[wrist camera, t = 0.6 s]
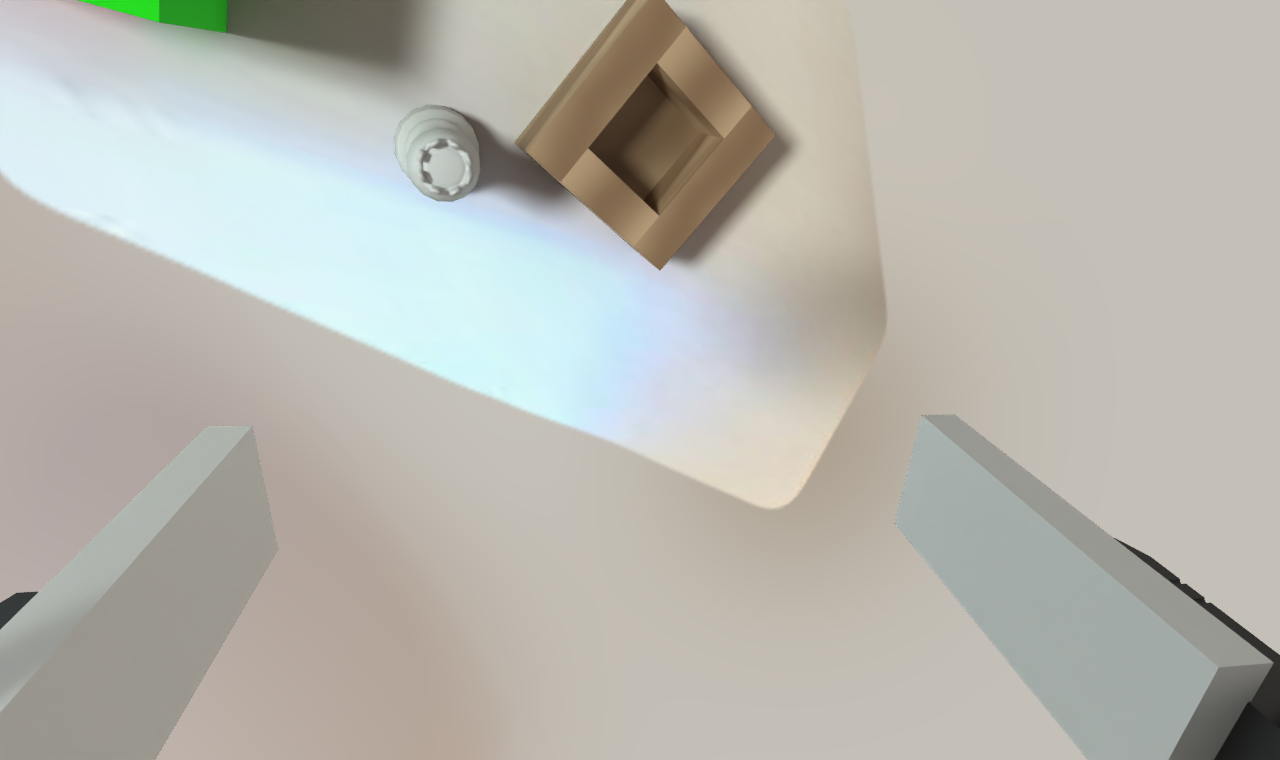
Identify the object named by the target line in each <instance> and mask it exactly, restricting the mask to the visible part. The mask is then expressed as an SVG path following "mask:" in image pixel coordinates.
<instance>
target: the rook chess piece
mask: <svg viewBox="0 0 1280 760" xmlns="http://www.w3.org/2000/svg"><path fill="white" fill-rule="evenodd" d="M394 144H395V155H396V158H397V160H398V162H399V164H400V166H401V168H402V171H403V172H404V173H405V174H406V175H407V176H408V177H409V178H410V179H411V180H412V183H413V185H414V186H415V187H416V188H417V189H419V190H420V191H421V192H422V193H423V194H424V195H425V196H427V197H430V198H432V199H434V200H436V201H449V202H452V201H455V200H458V199H461V198H463V197H465V196H466V195H467V194H468V193H469V192H471V191H472V190H473V189H474V188H475V186H476V183H477V181H478V178H479V176H480V159H479V143H478V140H477V138H476V135H475V132H474V130H473V127H472V126H471V125H470V124H469V123H468V122H467V121H466V120H465V119H464V117H463V116H462V115H461V114H459V113H457V112H455V111H453V110H451V109H449V108H447V107H446V106H437V105H425V106H422V107H419V108H416V109H413V110H411V111H410V112H409V113H408V114H407V115H406V116H405V117H404V118H403V119H402V120H401V121H400V123H399V126H398V128H397V131H396V134H395V136H394Z"/></svg>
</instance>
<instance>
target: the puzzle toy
mask: <svg viewBox="0 0 1280 760" xmlns="http://www.w3.org/2000/svg"><path fill="white" fill-rule="evenodd" d="M79 1H83V2H86V3H90V4H94V5H97V6H101V7H105V8H108V9H112V10H116V11H119V12H123V13H127V14H131V15H134V16H138V17H142V18H145V19H149V20H153V21H156V22H161V23H167V24H174V25H180V26H186V27H193V28H199V29H206V30H212V31H218V32H225V33H227V4H228V0H79Z"/></svg>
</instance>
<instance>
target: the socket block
mask: <svg viewBox="0 0 1280 760" xmlns="http://www.w3.org/2000/svg"><path fill="white" fill-rule="evenodd" d="M774 137H775V134H774V132H773V131H772V130H771V129H770V127H769V126H768V125H767V124H766V123H765V121H764V120H763V119H762V118H761V117H760V115H759V114H758V113H757V112H756V111H755V109H754V108H753V107H752V106H751V104H750V103H749V102H748V101H747V100H746V98H745V97H744V96H743V95H742V94H741V92H740V91H739V90H738V89H737V88H736V86H735V85H734V84H733V83H732V81H731V80H730V79H729V78H728V77H727V75H726V74H725V73H724V72H723V71H722V69H721V68H720V67H719V66H718V65H717V63H716V62H715V61H714V60H713V59H712V57H711V56H710V55H709V54H708V52H707V51H706V50H705V49H704V48H703V46H702V45H701V44H700V43H699V42H698V40H697V39H696V38H695V37H694V36H693V34H692V33H691V32H690V31H689V29H688V28H687V27H686V26H685V25H684V23H683V22H682V21H681V20H680V19H679V17H678V16H677V15H676V14H675V13H674V11H673V10H672V9H671V8H670V7H669V5H668V4H667V3H666V2H665V0H627V1H626V2H625V3H624V5H623V6H622V7H621V8H620V10H619V11H618V12H617V14H616V15H615V16H614V17H613V19H612V20H611V21H610V22H609V24H608V25H607V26H606V27H605V29H604V30H603V31H602V33H601V34H600V35H599V36H598V38H597V39H596V40H595V41H594V43H593V44H592V45H591V46H590V48H589V49H588V50H587V52H586V53H585V54H584V55H583V57H582V58H581V59H580V60H579V62H578V63H577V64H576V65H575V67H574V68H573V69H572V71H571V72H570V73H569V74H568V76H567V77H566V78H565V79H564V81H563V82H562V83H561V84H560V86H559V87H558V88H557V90H556V91H555V92H554V93H553V95H552V96H551V97H550V98H549V100H548V101H547V102H546V103H545V105H544V106H543V107H542V109H541V110H540V111H539V112H538V114H537V115H536V116H535V117H534V119H533V120H532V121H531V122H530V124H529V125H528V126H527V128H526V129H525V130H524V131H523V133H522V134H521V135H520V136H519V138H518V139H517V140H516V141H515V144H516V145H517V146H518V147H520V148H521V149H522V150H523V151H524V152H525V153H526V154H527V155H529V156H530V157H531V158H532V159H533V160H534V161H535V162H536V163H538V164H539V165H540V166H541V167H542V168H543V169H544V170H545V171H547V172H548V173H549V174H550V175H551V176H552V177H553V178H555V179H556V180H557V181H558V182H559V183H560V184H561V185H562V186H564V187H565V188H566V189H567V190H568V191H569V192H570V193H571V194H573V195H574V196H575V197H576V198H577V199H578V200H579V201H580V202H582V203H583V204H584V205H585V206H586V207H587V208H588V209H589V210H591V211H592V212H593V213H594V214H595V215H596V216H597V217H598V218H600V219H601V220H602V221H603V222H604V223H605V224H606V225H607V226H609V227H610V228H611V229H612V230H613V231H614V232H615V233H616V234H618V235H619V236H620V237H621V238H622V239H623V240H624V241H625V242H627V243H628V244H629V245H630V246H631V247H632V248H633V249H634V250H636V251H637V252H638V253H639V254H640V255H642V256H643V257H644V258H645V259H646V260H648V261H649V262H650V263H651V264H653V265H654V266H655V267H656V268H657V269H659V270H661V269H662V268H663V266H664V265H665V264H666V263H667V262H668V261H669V259H670V258H671V257H672V256H673V255H674V254H675V252H676V251H677V250H678V249H679V248H680V247H681V245H682V244H683V243H684V242H685V241H686V240H687V238H688V237H689V236H690V235H691V234H692V233H693V231H694V230H695V229H696V228H697V227H698V225H699V224H700V223H701V222H702V221H703V220H704V218H705V217H706V216H707V215H708V214H709V213H710V211H711V210H712V209H713V208H714V207H715V206H716V204H717V203H718V202H719V201H720V200H721V199H722V197H723V196H724V195H725V194H726V193H727V192H728V190H729V189H730V188H731V187H732V186H733V185H734V183H735V182H736V181H737V180H738V179H739V177H740V176H741V175H742V174H743V173H744V172H745V170H746V169H747V168H748V167H749V166H750V165H751V163H752V162H753V161H754V160H755V159H756V158H757V156H758V155H759V154H760V153H761V152H762V151H763V149H764V148H765V147H766V146H767V145H768V144H769V142H770V141H771V140H772V139H773V138H774Z"/></svg>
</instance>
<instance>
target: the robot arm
mask: <svg viewBox="0 0 1280 760" xmlns="http://www.w3.org/2000/svg"><path fill="white" fill-rule="evenodd" d="M895 525H896V526H897V527H898V528H899V529H900V531H901V532H902V533H903V534H904V536H905V537H906V538H907V539H908V540H909V542H910V543H911V544H912V545H913V547H914V548H915V549H916V550H917V551H918V553H919V554H920V555H921V556H922V558H923V559H924V560H925V561H926V562H927V564H928V565H929V566H930V567H931V569H932V570H933V571H934V572H935V574H936V575H937V576H938V577H939V578H940V579H941V581H942V582H943V583H944V585H945V586H946V587H947V588H948V589H949V591H950V592H951V593H952V594H953V596H954V597H955V598H956V599H957V601H958V602H959V603H960V604H961V605H962V606H963V608H964V609H965V610H966V612H967V613H968V614H969V615H970V616H971V618H972V619H973V620H974V621H975V622H976V624H977V625H978V626H979V627H980V629H982V631H983V632H984V633H985V635H986V636H987V637H988V638H989V640H990V641H991V642H992V643H993V645H994V646H995V647H996V648H997V649H998V651H999V652H1000V653H1001V654H1002V655H1003V657H1004V658H1005V659H1006V660H1007V662H1008V663H1009V664H1010V665H1011V666H1012V668H1013V669H1014V670H1015V671H1016V673H1017V674H1018V675H1019V676H1020V677H1021V679H1022V680H1023V681H1024V682H1025V684H1026V685H1027V686H1028V687H1029V688H1030V690H1031V691H1032V692H1033V693H1034V695H1035V696H1036V697H1037V698H1038V700H1039V701H1040V702H1041V703H1042V704H1043V705H1044V707H1045V708H1046V709H1047V710H1048V712H1049V713H1050V714H1051V715H1052V717H1053V718H1054V719H1055V720H1056V722H1057V723H1058V724H1059V725H1060V726H1061V728H1062V729H1063V730H1064V731H1065V733H1066V734H1067V735H1068V736H1069V737H1070V739H1071V740H1072V741H1073V742H1074V743H1075V745H1076V746H1077V747H1078V748H1079V750H1080V751H1081V752H1082V753H1083V754H1084V756H1085V757H1086V758H1087V759H1088V760H1280V655H1279V654H1278V653H1276V652H1275V651H1274V650H1272V649H1271V648H1270V647H1268V646H1267V645H1265V644H1264V643H1263V642H1262V641H1260V640H1259V639H1258V638H1257V637H1255V636H1254V635H1253V634H1251V633H1250V632H1249V631H1247V630H1246V629H1245V628H1243V627H1242V626H1241V625H1239V624H1238V623H1237V622H1235V621H1234V620H1233V619H1231V618H1230V617H1229V616H1227V615H1226V614H1225V613H1224V612H1222V611H1221V610H1220V609H1218V608H1217V607H1216V606H1214V605H1213V604H1212V603H1206V602H1205V600H1204V597H1203V596H1201V595H1200V594H1199V593H1197V592H1196V591H1195V590H1193V589H1192V588H1191V587H1189V586H1188V585H1187V584H1181V583H1180V579H1179V578H1178V577H1176V576H1175V575H1174V574H1172V573H1171V572H1170V571H1169V570H1167V569H1166V568H1165V567H1163V566H1162V565H1161V564H1159V563H1158V562H1157V561H1155V560H1154V559H1153V558H1151V557H1150V556H1148V555H1146V554H1144V553H1142V552H1140V551H1139V550H1136V549H1135V548H1133V547H1131V546H1129V545H1127V544H1125V543H1123V542H1121V541H1119V540H1117V539H1116V538H1113V537H1111V536H1110V535H1109V534H1108V533H1106V532H1105V531H1104V530H1103V529H1101V528H1100V527H1099V526H1097V525H1096V524H1095V523H1094V522H1092V521H1091V520H1090V519H1088V518H1087V517H1086V516H1084V515H1083V514H1082V513H1081V512H1079V511H1078V510H1077V509H1076V508H1074V507H1073V506H1072V505H1070V504H1069V503H1068V502H1067V501H1065V500H1064V499H1062V498H1061V497H1060V496H1059V495H1058V494H1056V493H1055V492H1054V491H1052V490H1051V489H1050V488H1049V487H1047V486H1046V485H1045V484H1043V483H1042V482H1041V481H1040V480H1038V479H1037V478H1036V477H1034V476H1033V475H1032V474H1030V473H1029V472H1028V471H1026V470H1025V469H1024V468H1023V467H1022V466H1020V465H1019V464H1018V463H1016V462H1015V461H1014V460H1013V459H1011V458H1010V457H1009V456H1007V455H1006V454H1005V453H1004V452H1002V451H1001V450H1000V449H998V448H997V447H996V446H995V445H993V444H992V443H990V442H989V441H988V440H987V439H985V438H984V437H983V436H982V435H980V434H979V433H978V432H976V431H975V430H974V429H973V428H971V427H970V426H969V425H967V424H966V423H965V422H964V421H962V420H961V419H960V418H958V417H957V416H956V415H921V419H920V423H919V427H918V431H917V435H916V439H915V443H914V447H913V451H912V455H911V459H910V463H909V467H908V471H907V475H906V479H905V483H904V487H903V491H902V495H901V499H900V503H899V507H898V511H897V515H896V519H895ZM277 550H278V546H277V541H276V536H275V532H274V527H273V522H272V517H271V512H270V507H269V503H268V498H267V493H266V488H265V484H264V479H263V475H262V470H261V465H260V460H259V455H258V451H257V446H256V441H255V436H254V431H253V426H216V427H215V426H213V427H206V428H205V429H204V430H203V431H202V432H201V433H200V434H199V435H198V436H197V437H196V438H195V439H194V440H193V441H192V442H190V443H189V444H188V445H187V446H186V447H185V448H184V449H183V450H182V451H181V452H180V453H179V454H178V456H176V457H175V458H174V459H173V460H172V461H171V462H170V463H169V464H168V465H167V466H166V467H165V468H164V469H163V470H162V471H161V472H160V473H159V474H158V475H157V476H156V477H155V478H154V479H153V480H152V481H151V482H150V483H149V484H148V485H147V486H146V487H145V488H144V489H143V490H142V491H141V492H140V493H139V494H138V495H137V496H136V497H135V498H134V499H133V500H132V501H131V502H130V503H129V504H128V505H126V507H124V509H122V510H121V511H120V512H119V513H118V514H117V515H116V516H115V517H114V518H113V519H112V520H111V521H110V522H109V523H108V524H107V525H106V526H105V527H104V528H103V529H102V530H101V531H100V532H99V533H98V534H97V535H96V536H95V537H94V538H93V539H92V540H91V541H90V542H89V543H88V544H87V545H86V546H85V547H84V548H83V549H82V550H81V551H80V552H79V553H78V554H77V555H76V556H75V557H74V558H73V559H72V560H71V561H70V562H69V563H68V564H67V565H66V566H65V567H64V568H62V569H61V571H59V573H57V574H56V576H54V577H53V578H52V580H50V581H49V582H48V583H47V584H46V585H45V586H44V587H43V588H42V589H41V590H40V591H39V592H24V593H16V594H14V595H13V596H11V597H9V598H8V599H6V600H4V601H3V602H1V603H0V760H155V759H156V757H157V756H158V754H159V752H160V751H161V749H162V747H163V745H164V743H165V742H166V740H167V739H168V737H169V735H170V733H171V732H172V730H173V728H174V726H175V725H176V723H177V721H178V720H179V718H180V716H181V715H182V713H183V711H184V709H185V708H186V706H187V704H188V703H189V701H190V699H191V698H192V696H193V694H194V692H195V691H196V689H197V687H198V686H199V684H200V682H201V680H202V679H203V677H204V675H205V674H206V672H207V670H208V668H209V666H210V665H211V663H212V662H213V660H214V658H215V656H216V655H217V653H218V651H219V650H220V648H221V646H222V644H223V643H224V641H225V639H226V638H227V636H228V634H229V633H230V631H231V629H232V627H233V626H234V624H235V622H236V621H237V619H238V617H239V615H240V614H241V612H242V610H243V609H244V607H245V605H246V603H247V602H248V600H249V598H250V596H251V595H252V593H253V591H254V590H255V588H256V586H257V584H258V583H259V581H260V579H261V578H262V576H263V574H264V573H265V571H266V569H267V567H268V566H269V564H270V562H271V560H272V559H273V557H274V556H275V554H276V552H277Z"/></svg>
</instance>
